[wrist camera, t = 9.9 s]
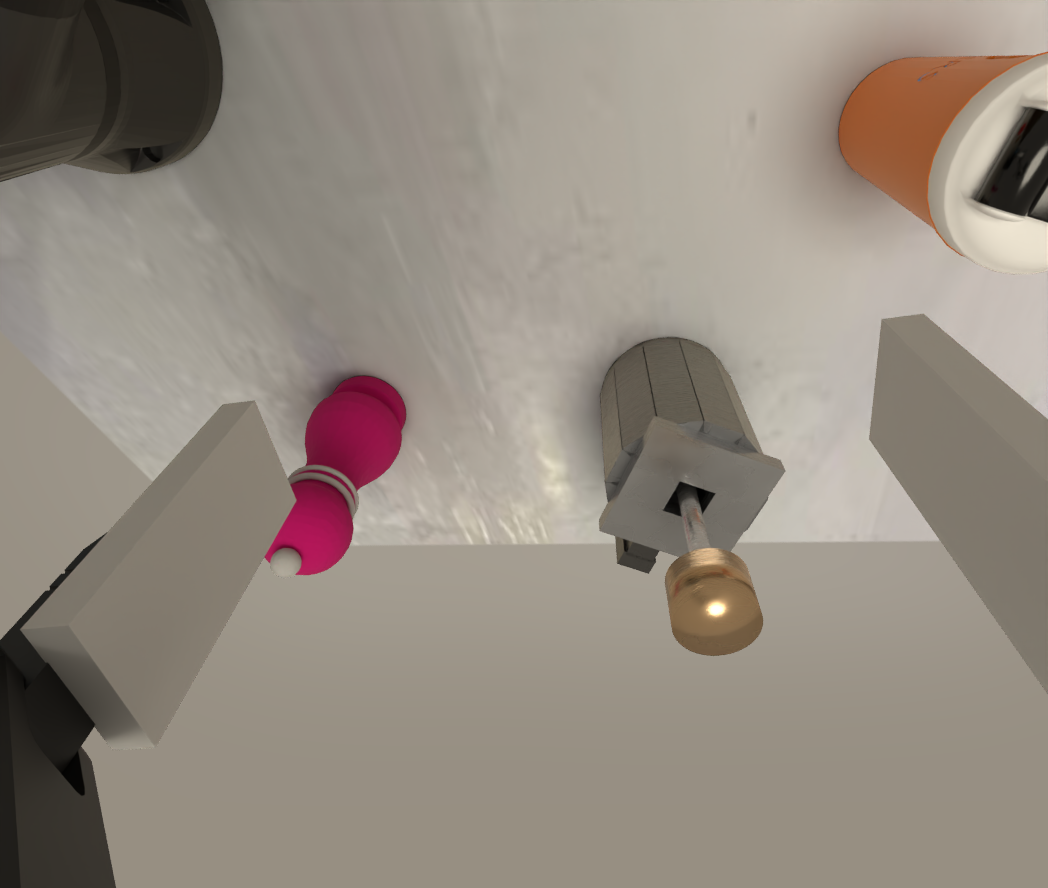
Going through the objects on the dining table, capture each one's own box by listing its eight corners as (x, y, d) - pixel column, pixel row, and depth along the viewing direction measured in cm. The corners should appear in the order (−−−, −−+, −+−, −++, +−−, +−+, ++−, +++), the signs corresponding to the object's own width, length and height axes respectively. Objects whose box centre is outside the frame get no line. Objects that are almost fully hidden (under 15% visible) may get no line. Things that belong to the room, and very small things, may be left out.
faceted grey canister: (568, 455, 58) (566, 568, 46) (632, 319, 52) (649, 409, 40) (677, 491, 59) (702, 611, 47) (753, 363, 53) (804, 464, 41)
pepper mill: (394, 458, 60) (321, 633, 43) (315, 424, 58) (207, 590, 41) (425, 392, 56) (358, 554, 39) (341, 355, 55) (234, 505, 38)
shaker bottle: (937, 201, 46) (1149, 307, 29) (804, 186, 46) (936, 283, 29) (998, 47, 41) (1293, 65, 24) (849, 31, 41) (1039, 38, 24)
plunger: (606, 446, 52) (620, 650, 35) (646, 366, 49) (683, 550, 32) (693, 476, 53) (746, 689, 36) (738, 399, 50) (822, 596, 33)
